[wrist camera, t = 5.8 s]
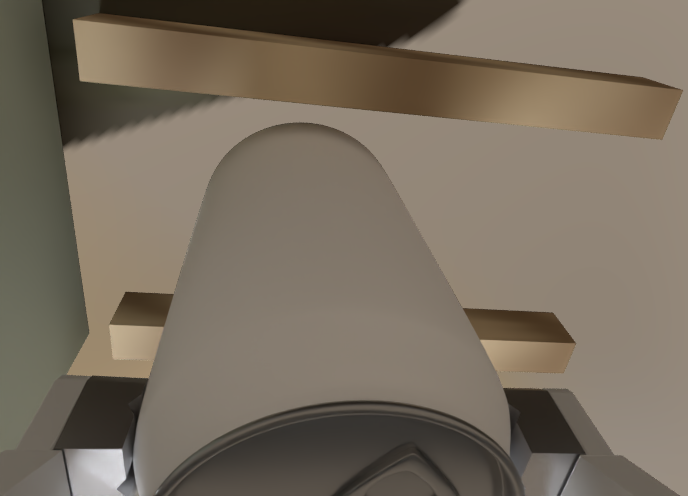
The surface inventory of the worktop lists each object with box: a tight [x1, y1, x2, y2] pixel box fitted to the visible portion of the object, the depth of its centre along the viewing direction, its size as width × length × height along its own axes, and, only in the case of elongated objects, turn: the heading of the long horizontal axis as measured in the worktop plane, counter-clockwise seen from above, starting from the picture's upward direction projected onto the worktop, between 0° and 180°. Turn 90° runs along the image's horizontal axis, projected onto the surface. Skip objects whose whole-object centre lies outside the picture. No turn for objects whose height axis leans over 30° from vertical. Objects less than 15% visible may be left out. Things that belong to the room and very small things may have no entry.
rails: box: [73, 13, 683, 373], centre depth 17 cm, size 17×11×2 cm, turn 83°
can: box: [133, 123, 525, 496], centre depth 13 cm, size 6×6×12 cm
